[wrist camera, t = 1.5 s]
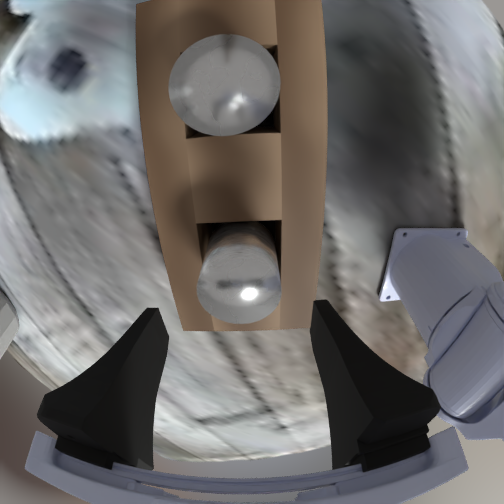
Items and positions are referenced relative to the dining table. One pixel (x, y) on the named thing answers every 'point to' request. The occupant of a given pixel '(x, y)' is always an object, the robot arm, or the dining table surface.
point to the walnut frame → (237, 150)
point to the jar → (7, 323)
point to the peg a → (224, 85)
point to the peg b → (240, 273)
